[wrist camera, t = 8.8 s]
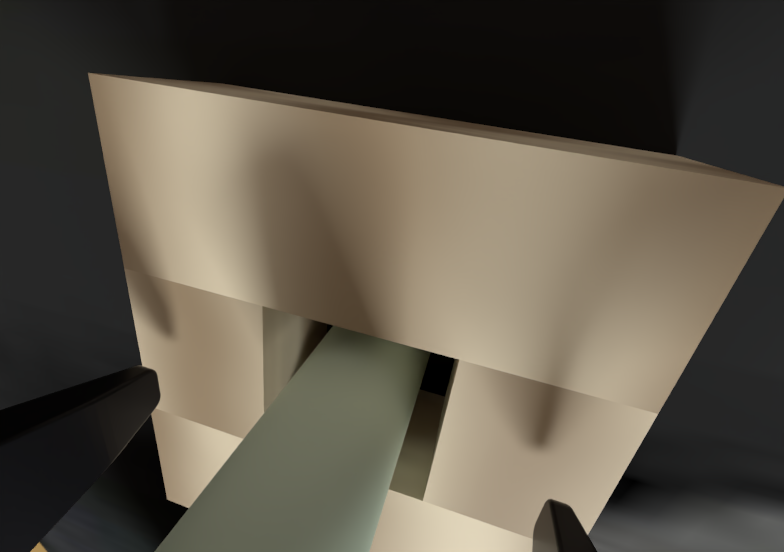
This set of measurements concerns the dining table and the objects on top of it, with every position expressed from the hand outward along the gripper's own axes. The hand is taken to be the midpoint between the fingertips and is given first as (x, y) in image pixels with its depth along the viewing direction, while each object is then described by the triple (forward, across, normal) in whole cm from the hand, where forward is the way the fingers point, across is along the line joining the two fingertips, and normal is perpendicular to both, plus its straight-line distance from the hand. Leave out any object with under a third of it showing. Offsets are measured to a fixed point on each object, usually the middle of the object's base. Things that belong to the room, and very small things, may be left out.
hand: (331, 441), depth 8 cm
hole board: (+5, 0, 0) cm, 5 cm away
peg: (+5, 0, 0) cm, 5 cm away
